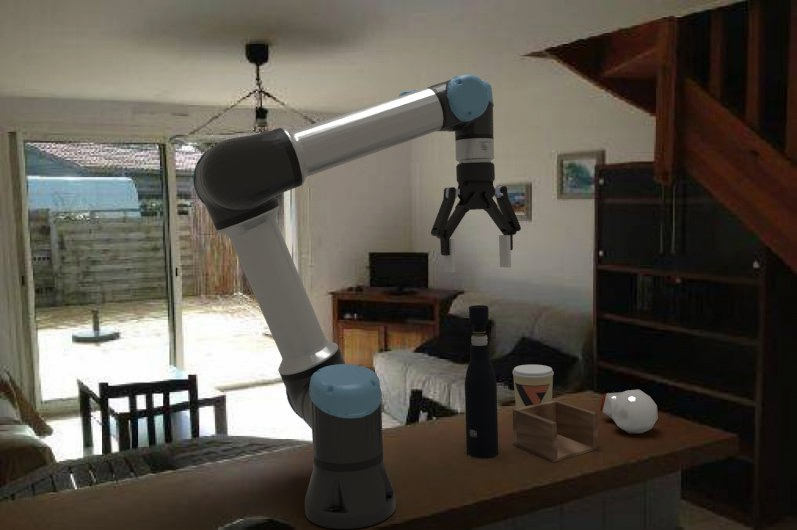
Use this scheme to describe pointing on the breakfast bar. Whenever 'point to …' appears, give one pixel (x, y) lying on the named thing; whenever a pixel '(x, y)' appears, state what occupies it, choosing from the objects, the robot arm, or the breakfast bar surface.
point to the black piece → (480, 391)
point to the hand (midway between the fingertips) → (478, 269)
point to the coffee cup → (532, 384)
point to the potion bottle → (630, 410)
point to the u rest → (555, 430)
